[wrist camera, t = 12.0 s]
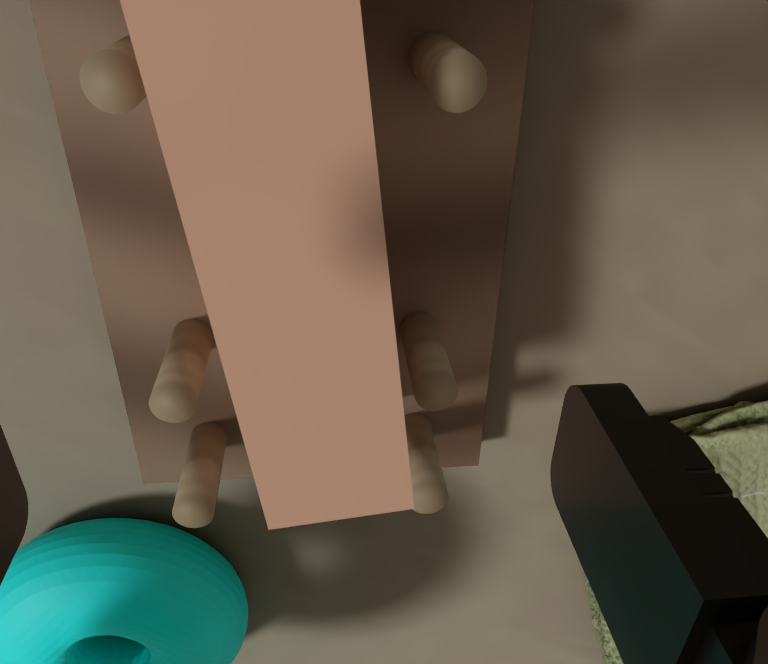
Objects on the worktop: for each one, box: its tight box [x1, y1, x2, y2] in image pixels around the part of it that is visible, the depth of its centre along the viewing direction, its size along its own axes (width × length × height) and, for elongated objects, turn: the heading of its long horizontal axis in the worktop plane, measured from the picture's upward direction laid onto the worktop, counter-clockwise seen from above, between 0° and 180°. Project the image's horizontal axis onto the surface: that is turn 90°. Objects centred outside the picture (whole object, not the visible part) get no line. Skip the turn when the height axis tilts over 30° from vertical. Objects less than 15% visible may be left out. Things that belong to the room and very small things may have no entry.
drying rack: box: [29, 0, 535, 528], centre depth 17 cm, size 20×12×5 cm, turn 179°
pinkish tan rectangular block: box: [120, 0, 414, 530], centre depth 16 cm, size 14×4×5 cm, turn 6°
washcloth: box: [584, 401, 768, 664], centre depth 28 cm, size 13×18×3 cm
